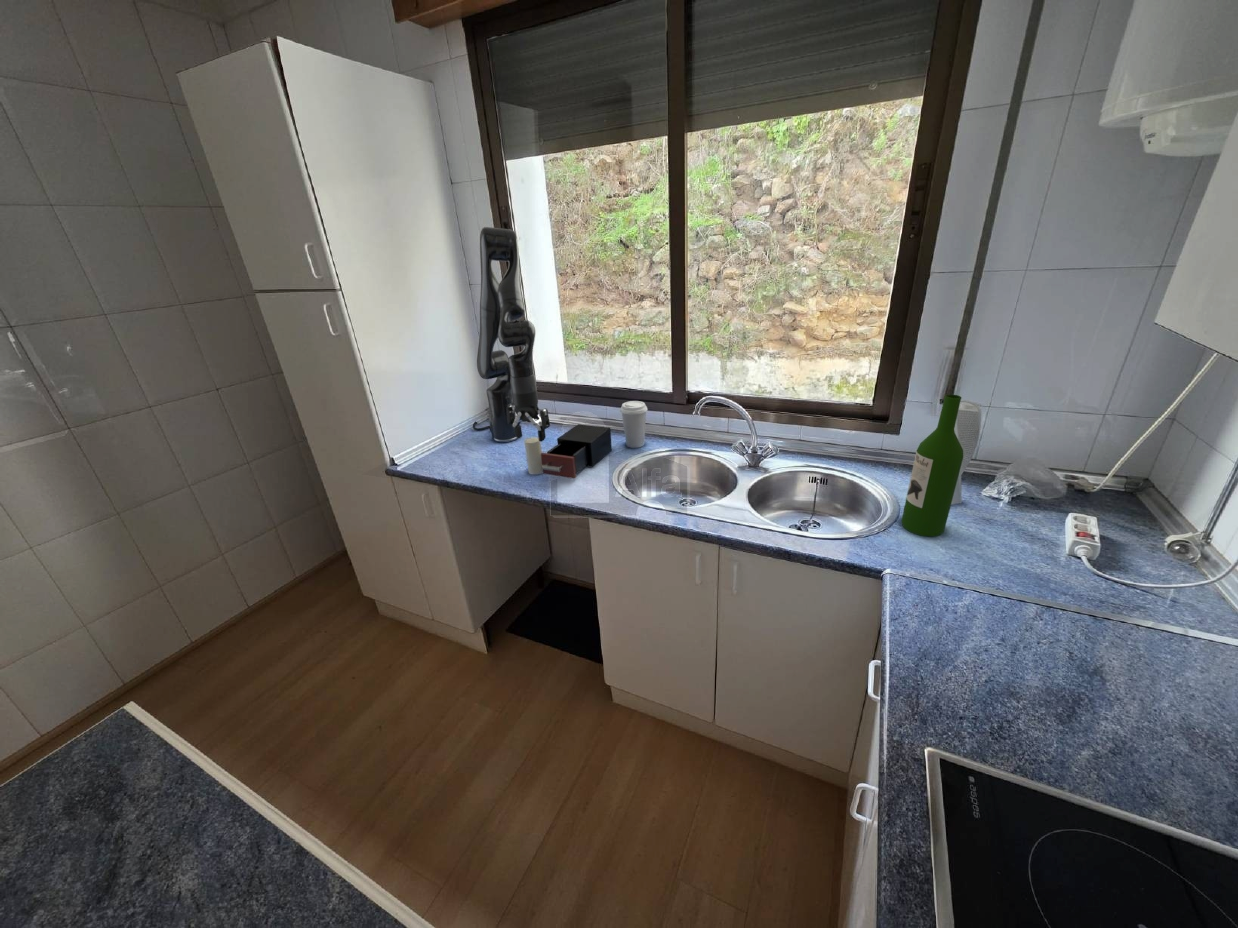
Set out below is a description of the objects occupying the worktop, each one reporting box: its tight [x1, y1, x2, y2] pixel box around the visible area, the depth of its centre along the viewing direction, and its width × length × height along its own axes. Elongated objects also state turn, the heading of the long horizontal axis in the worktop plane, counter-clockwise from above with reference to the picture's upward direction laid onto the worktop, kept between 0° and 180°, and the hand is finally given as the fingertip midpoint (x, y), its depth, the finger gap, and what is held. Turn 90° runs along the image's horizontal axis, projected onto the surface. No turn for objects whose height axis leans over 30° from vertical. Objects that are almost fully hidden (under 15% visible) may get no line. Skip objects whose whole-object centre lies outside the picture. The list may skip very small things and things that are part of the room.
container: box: [523, 436, 543, 476], centre depth 156 cm, size 5×5×11 cm
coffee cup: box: [619, 400, 648, 449], centre depth 172 cm, size 10×10×15 cm
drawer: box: [541, 441, 590, 479], centre depth 154 cm, size 18×11×7 cm, turn 155°
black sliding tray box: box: [556, 423, 613, 468], centre depth 165 cm, size 15×13×9 cm
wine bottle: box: [900, 394, 963, 538], centre depth 110 cm, size 9×9×32 cm
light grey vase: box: [951, 398, 982, 506], centre depth 122 cm, size 8×8×28 cm
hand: (530, 439), depth 153 cm, fingers open, 8 cm apart
